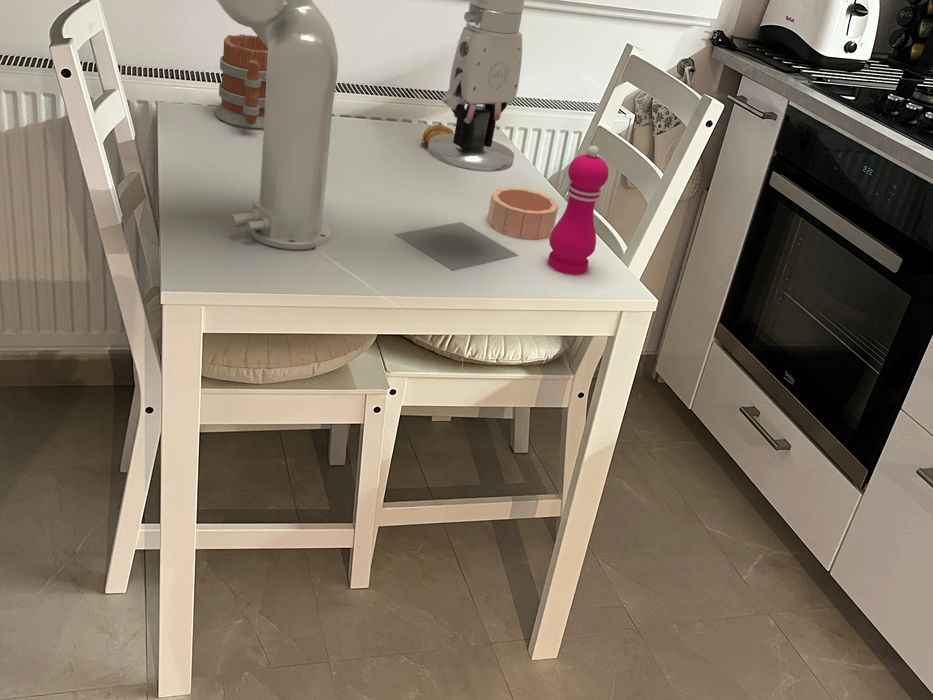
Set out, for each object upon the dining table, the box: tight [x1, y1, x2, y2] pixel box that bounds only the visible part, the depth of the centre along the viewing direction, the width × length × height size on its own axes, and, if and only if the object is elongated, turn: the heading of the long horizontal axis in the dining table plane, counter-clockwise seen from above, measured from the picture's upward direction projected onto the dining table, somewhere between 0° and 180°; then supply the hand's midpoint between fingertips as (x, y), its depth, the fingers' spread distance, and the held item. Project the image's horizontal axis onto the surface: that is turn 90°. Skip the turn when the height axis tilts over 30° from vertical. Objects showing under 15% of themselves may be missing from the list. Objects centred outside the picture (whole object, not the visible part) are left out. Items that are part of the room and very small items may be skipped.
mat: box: [395, 221, 519, 272], centre depth 158 cm, size 14×14×1 cm
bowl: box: [487, 187, 559, 241], centre depth 168 cm, size 11×11×5 cm
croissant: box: [422, 123, 455, 147], centre depth 199 cm, size 14×7×5 cm, turn 14°
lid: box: [427, 105, 515, 173], centre depth 149 cm, size 13×13×7 cm
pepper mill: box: [547, 145, 609, 276], centre depth 153 cm, size 7×7×20 cm
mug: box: [215, 34, 268, 130], centre depth 192 cm, size 14×19×15 cm
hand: (472, 143), depth 150 cm, fingers closed on lid, 3 cm apart
